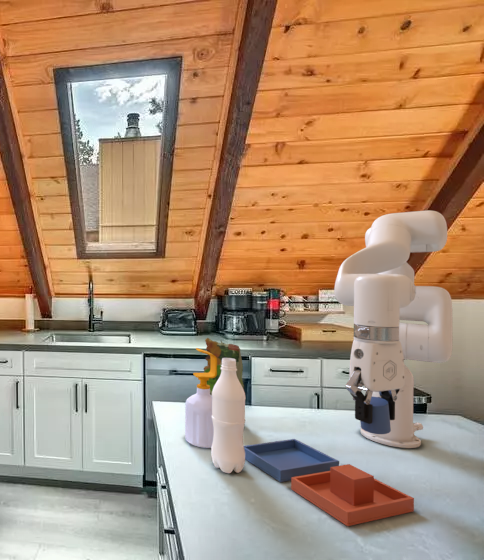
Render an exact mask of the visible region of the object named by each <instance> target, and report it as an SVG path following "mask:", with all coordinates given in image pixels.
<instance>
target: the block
mask: <svg viewBox="0 0 484 560" xmlns="http://www.w3.org/2000/svg"><path fill="white" fill-rule="evenodd" d="M374 479H375V476H374V475H372V474H370V473H369V472H366V471H364V470H362V469H361V468H358V467H356V466H354V465H352V464H350V463H347V464H341V465H339V466H335V467H330V492H332V493H333V494H335V495H337V496H338V497H340V498H342V499H343V500H345V501H347V502H348V503H350V504H352V505H354V506H355V505H360V504H365V503H370V502H373V501H374Z"/></svg>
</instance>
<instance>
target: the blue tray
mask: <svg viewBox="0 0 484 560" xmlns="http://www.w3.org/2000/svg"><path fill="white" fill-rule="evenodd" d="M244 450H245V461H248V462H249V463H250V464H252V465H253V466H255V467H256V468H258V469H259V470H261V471H262V472H264V473H266V474H267V475H269V476H270V477H271V478H273V479H274V480H276V481H278V482H279V483H283V482H289V481H291V477H297V476H303V475H308V474H314V473H320V472H326V471H330V467H335V466H340V460H338V459H336V458H334V457H332V456H330V455H328V454H326V453H324V452H322V451H320V450H318V449H316V448H314V447H312V446H310V445H308V444H307V443H304V442H302V441H300V440H298V439H297V438H290V439H283V440H276V441H270V442H261V443H254V444H247V445H244Z"/></svg>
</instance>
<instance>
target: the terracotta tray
mask: <svg viewBox="0 0 484 560" xmlns="http://www.w3.org/2000/svg"><path fill="white" fill-rule="evenodd" d="M290 481H291V483H290V490H292V491H293V492H295V493H296V494H298V495H299V496H301V497H302V498H303V499H305V500H306V501H309V502H310V503H311V504H313V505H314V506H316V507H317V508H319V509H320V510H322V511H323V512H324V513H327V514H328V515H330V516H331V517H333V518H334V519H335V520H337V521H338V522H340V523H342V524H343V525H345V526H346V527H350V526H355V525H360V524H364V523H368V522H369V523H370V522H373V521H377V520H382V519H386V518H390V517H395V516H399V515H403V514H409V513H412V512H414V511H415V498H414V497H412V496H411V495H409V494H406V493H405V492H402V491H401V490H398V489H396V488H395V487H393V486H390V485H389V484H387V483H384V482H382V481H380V480H379V479H377V478H374V501H373V502H370V503H365V504H360V505H355V506H354V505H352V504H350V503H348V502H347V501H345V500H343V499H342V498H340V497H338V496H337V495H335V494H333V493H332V492H330V471H326V472H320V473H314V474H308V475H303V476H297V477H291V480H290Z"/></svg>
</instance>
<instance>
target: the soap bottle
mask: <svg viewBox="0 0 484 560" xmlns="http://www.w3.org/2000/svg"><path fill="white" fill-rule="evenodd" d="M195 350H196V351H197V352H199V353H202V354H205V355H207V354H208V355H210V358H211V365H210V372H209V373H204V372H193V373H192V374H193V376H194V377H195V378H196V379H197V380H199V383H197V384H196V393H194V394H192V395H190V396H189V397H187V399H186V400H185V403H184V404H185V407H184V408H185V409H184V410H185V411H184V412H185V415H184V420H185V421H184V433H185V434H184V439H185V441H186V442H187V443H188V444H189V445H192V446H195V447H197V448H204V449H211V447H212V443H213V436H214V427H213V421H212V396H211V395H210V386H209V385H207V381H208V380H209V378H215V377H216V375H217V358H216V356H214V355H213V354H211V353H210V352H208V351H207V350H206V349H201V348H198V347H196V348H195ZM208 355H207V356H208Z"/></svg>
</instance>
